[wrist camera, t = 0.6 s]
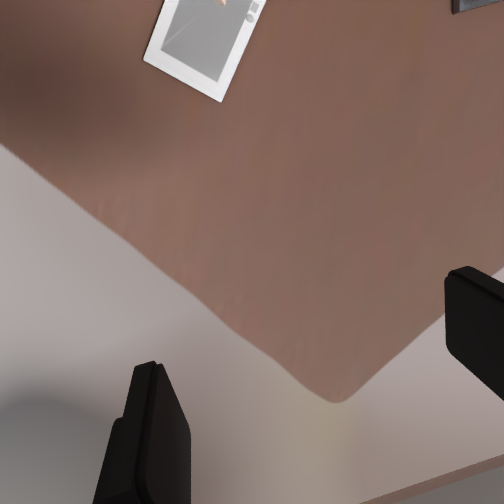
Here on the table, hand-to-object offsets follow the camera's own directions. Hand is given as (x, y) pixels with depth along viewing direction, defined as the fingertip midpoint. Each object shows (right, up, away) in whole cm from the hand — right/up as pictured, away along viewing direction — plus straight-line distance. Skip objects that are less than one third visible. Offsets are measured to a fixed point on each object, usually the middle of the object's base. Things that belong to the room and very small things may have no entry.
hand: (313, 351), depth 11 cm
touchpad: (-5, +26, +21) cm, 34 cm away
